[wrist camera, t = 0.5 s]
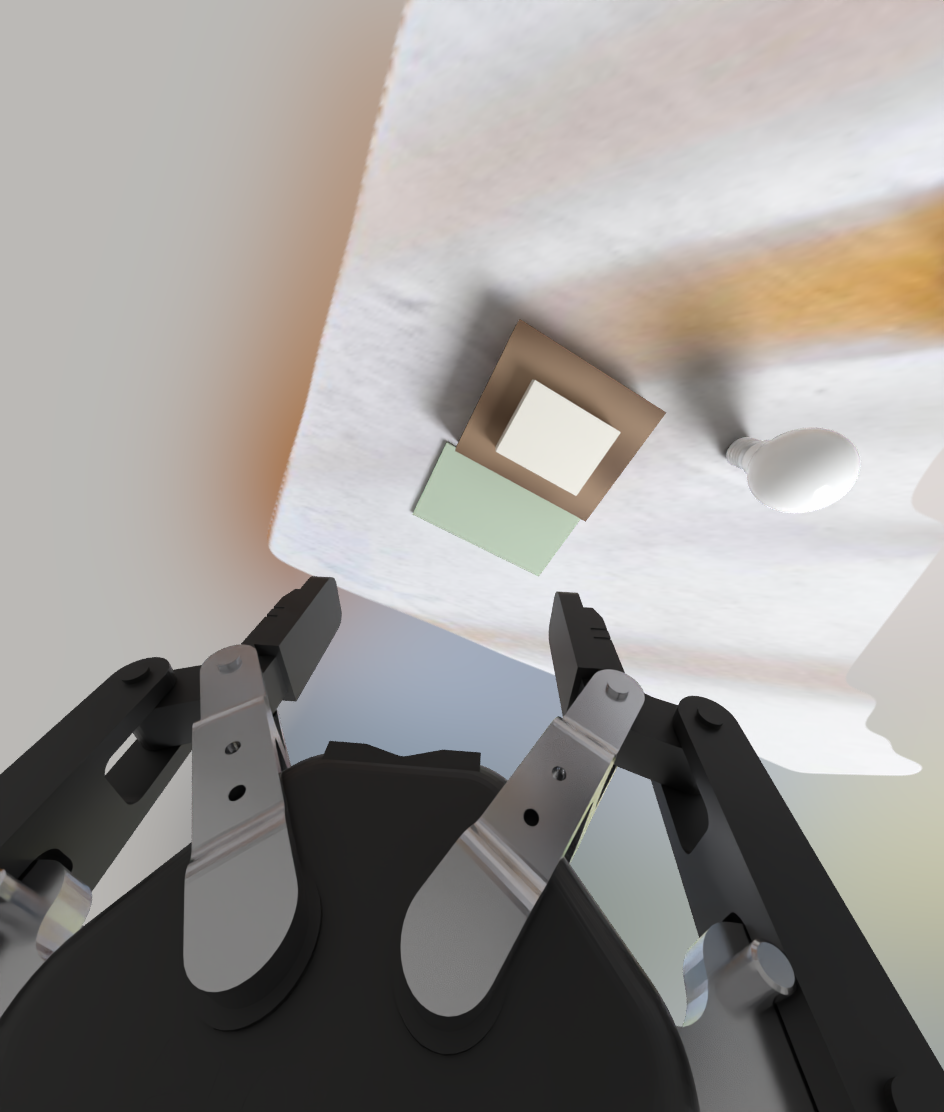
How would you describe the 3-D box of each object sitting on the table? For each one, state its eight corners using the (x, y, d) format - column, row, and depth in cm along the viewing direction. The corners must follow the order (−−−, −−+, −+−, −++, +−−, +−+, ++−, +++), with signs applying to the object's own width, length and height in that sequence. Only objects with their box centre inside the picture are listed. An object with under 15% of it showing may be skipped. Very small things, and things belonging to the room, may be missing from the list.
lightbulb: (722, 495, 36) (807, 542, 27) (689, 450, 34) (766, 483, 25) (786, 449, 34) (903, 483, 24) (753, 399, 32) (867, 413, 22)
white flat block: (532, 379, 29) (534, 380, 27) (613, 428, 30) (620, 432, 28) (495, 446, 31) (495, 451, 29) (571, 489, 33) (576, 496, 31)
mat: (447, 441, 35) (446, 442, 35) (581, 515, 38) (582, 516, 38) (413, 513, 39) (412, 514, 38) (538, 574, 42) (538, 576, 41)
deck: (516, 324, 30) (519, 318, 27) (647, 407, 33) (666, 412, 29) (458, 442, 35) (454, 450, 32) (576, 506, 38) (585, 521, 34)
